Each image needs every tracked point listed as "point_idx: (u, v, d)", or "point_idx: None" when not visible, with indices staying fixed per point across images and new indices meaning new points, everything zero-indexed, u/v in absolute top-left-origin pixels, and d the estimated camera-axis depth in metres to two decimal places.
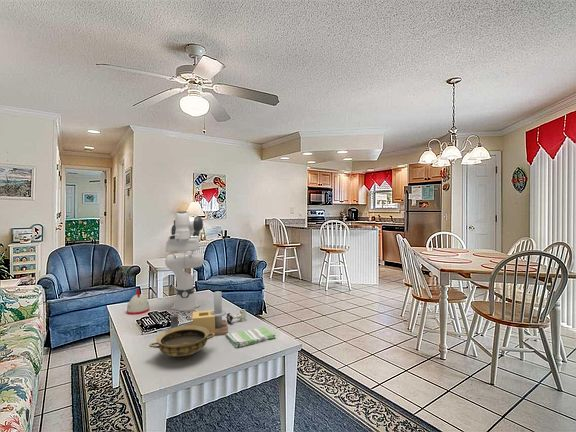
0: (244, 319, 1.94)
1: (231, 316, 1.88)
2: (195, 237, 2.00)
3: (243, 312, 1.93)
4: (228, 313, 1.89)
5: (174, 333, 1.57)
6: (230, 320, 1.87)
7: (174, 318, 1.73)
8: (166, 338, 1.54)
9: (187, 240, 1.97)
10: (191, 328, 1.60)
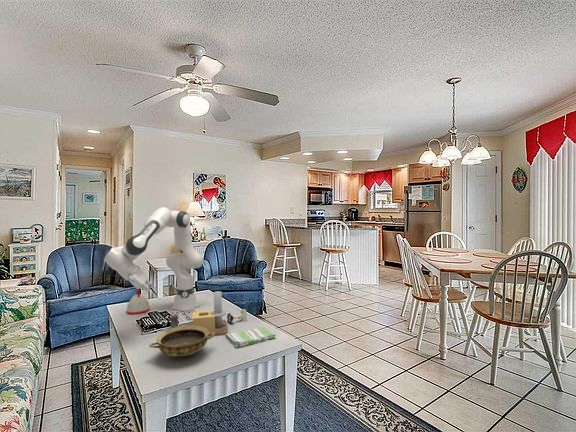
0: (245, 319, 1.94)
1: (232, 316, 1.88)
2: None
3: (243, 312, 1.94)
4: (229, 313, 1.89)
5: (174, 333, 1.57)
6: (231, 320, 1.87)
7: (174, 318, 1.73)
8: (166, 338, 1.54)
9: None
10: (191, 328, 1.60)
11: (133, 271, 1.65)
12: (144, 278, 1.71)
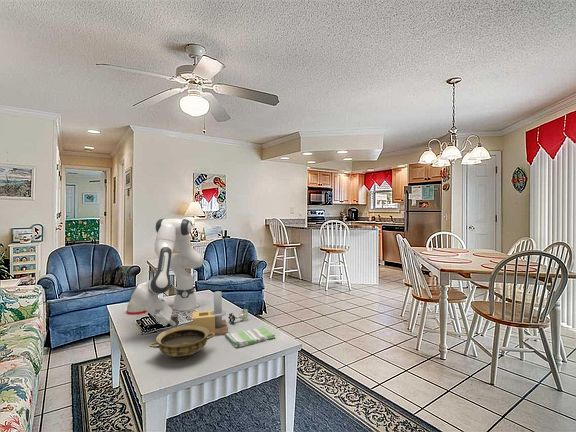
0: (246, 319, 1.94)
1: (234, 316, 1.88)
2: None
3: (245, 312, 1.94)
4: (231, 313, 1.89)
5: (174, 333, 1.57)
6: (233, 320, 1.87)
7: (174, 318, 1.73)
8: (166, 338, 1.54)
9: None
10: (191, 328, 1.60)
11: (159, 307, 1.69)
12: (169, 313, 1.75)
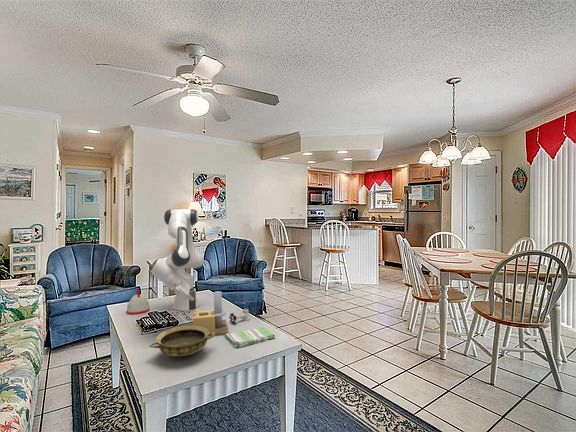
0: (247, 319, 1.95)
1: (235, 316, 1.88)
2: None
3: (246, 312, 1.94)
4: (232, 313, 1.89)
5: (174, 333, 1.57)
6: (234, 320, 1.87)
7: (192, 293, 1.76)
8: (166, 338, 1.54)
9: None
10: (191, 328, 1.60)
11: (178, 282, 1.71)
12: (187, 288, 1.78)
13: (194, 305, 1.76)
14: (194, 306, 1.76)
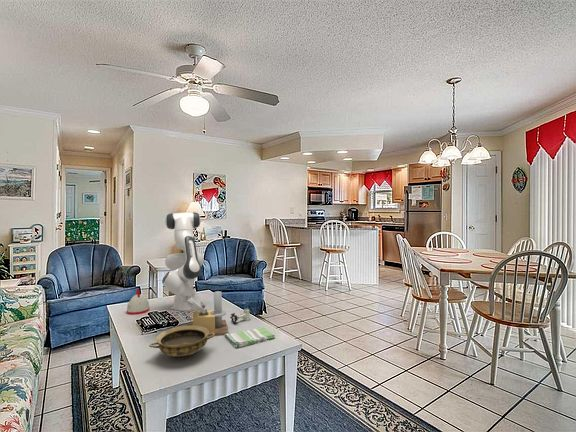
0: (248, 318, 1.95)
1: (236, 316, 1.88)
2: None
3: (247, 311, 1.94)
4: (233, 313, 1.89)
5: (174, 333, 1.57)
6: (235, 320, 1.87)
7: None
8: (166, 338, 1.54)
9: None
10: (191, 328, 1.60)
11: (190, 294, 1.73)
12: (199, 300, 1.79)
13: None
14: None
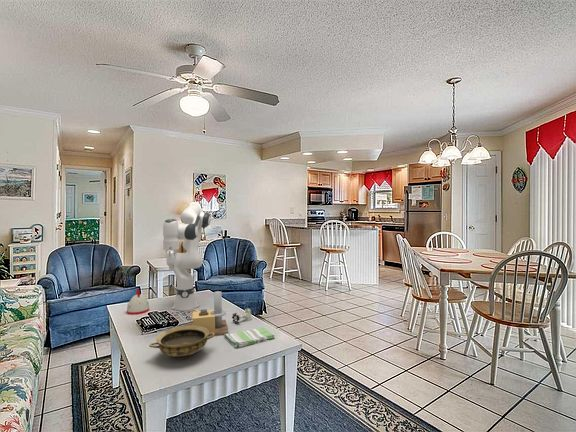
0: (249, 318, 1.95)
1: (238, 316, 1.88)
2: (169, 249, 1.77)
3: (248, 311, 1.95)
4: (235, 313, 1.89)
5: (174, 333, 1.57)
6: (237, 320, 1.87)
7: (204, 312, 1.78)
8: (166, 338, 1.54)
9: (167, 251, 1.82)
10: (191, 328, 1.60)
11: (174, 248, 1.82)
12: (174, 258, 1.87)
13: None
14: None
